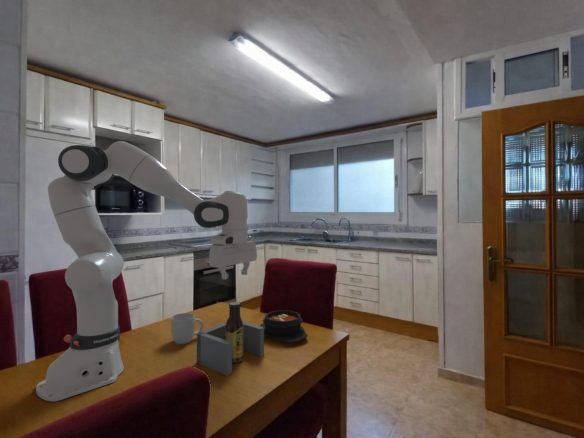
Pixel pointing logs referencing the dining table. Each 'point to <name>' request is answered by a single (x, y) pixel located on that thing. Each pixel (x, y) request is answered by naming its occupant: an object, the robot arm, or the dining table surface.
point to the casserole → (284, 326)
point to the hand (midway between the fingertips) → (235, 276)
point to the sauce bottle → (235, 331)
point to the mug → (184, 327)
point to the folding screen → (227, 346)
